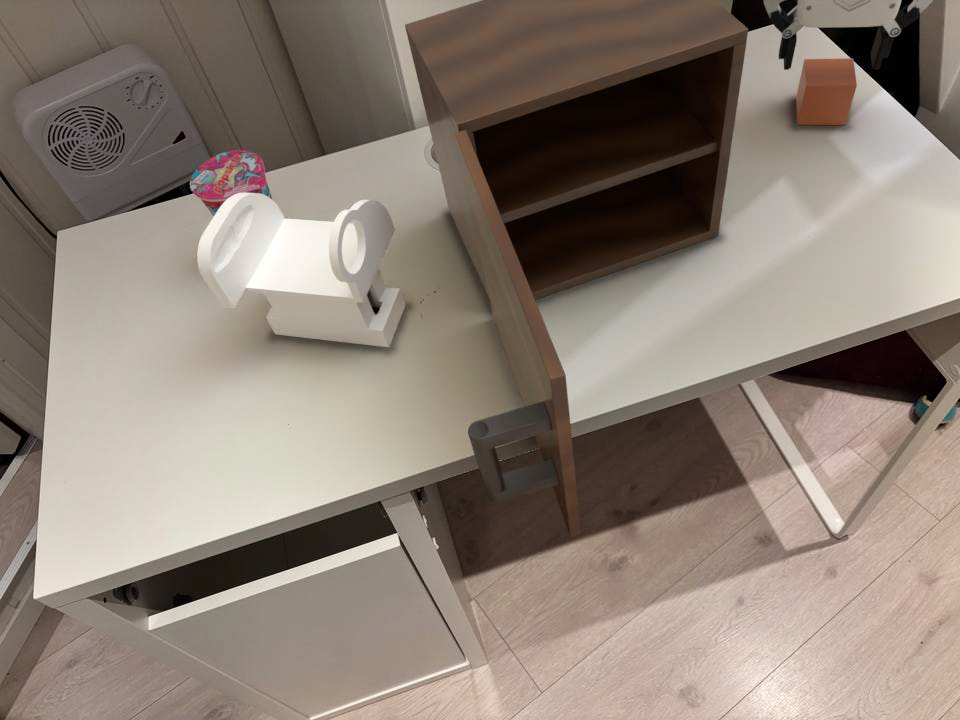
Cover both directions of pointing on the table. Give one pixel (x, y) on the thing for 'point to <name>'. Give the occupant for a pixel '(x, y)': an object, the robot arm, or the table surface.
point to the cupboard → (585, 125)
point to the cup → (229, 178)
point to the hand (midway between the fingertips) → (830, 62)
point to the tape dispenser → (305, 268)
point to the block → (825, 91)
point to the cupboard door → (519, 365)
